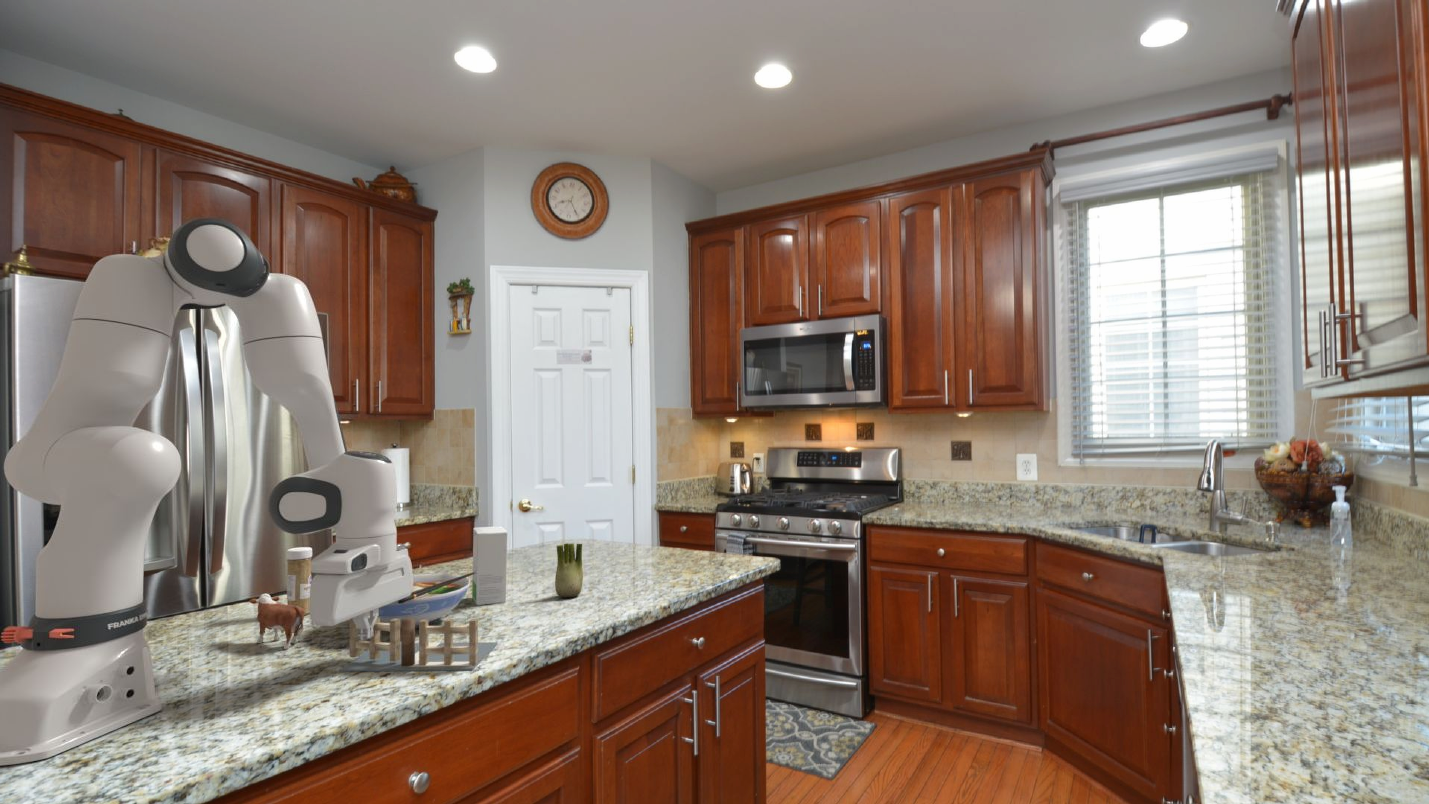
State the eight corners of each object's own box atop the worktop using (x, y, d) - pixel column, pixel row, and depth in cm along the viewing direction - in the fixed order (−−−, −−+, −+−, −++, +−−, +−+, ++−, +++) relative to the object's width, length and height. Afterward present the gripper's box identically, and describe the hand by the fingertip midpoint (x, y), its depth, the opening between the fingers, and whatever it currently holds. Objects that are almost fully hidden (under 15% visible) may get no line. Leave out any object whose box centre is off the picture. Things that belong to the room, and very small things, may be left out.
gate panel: (400, 659, 115) (400, 618, 115) (395, 661, 114) (395, 620, 114) (355, 654, 117) (355, 615, 117) (349, 657, 116) (349, 617, 116)
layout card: (472, 670, 112) (472, 667, 112) (339, 671, 112) (339, 669, 112) (497, 643, 125) (497, 641, 125) (377, 645, 125) (377, 643, 125)
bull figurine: (269, 634, 132) (269, 590, 132) (310, 645, 125) (310, 599, 125) (243, 640, 128) (244, 595, 128) (284, 652, 121) (284, 604, 121)
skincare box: (471, 597, 158) (471, 527, 158) (502, 594, 161) (502, 525, 161) (476, 606, 150) (476, 532, 151) (508, 602, 153) (508, 530, 154)
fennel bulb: (583, 594, 160) (583, 540, 161) (580, 599, 155) (580, 544, 156) (557, 594, 160) (557, 541, 160) (554, 600, 155) (553, 545, 155)
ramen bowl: (402, 604, 152) (402, 566, 153) (497, 610, 147) (497, 571, 147) (309, 639, 128) (309, 594, 128) (417, 648, 123) (417, 601, 123)
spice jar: (312, 614, 145) (313, 548, 145) (286, 618, 142) (287, 551, 143) (310, 609, 149) (311, 545, 149) (285, 613, 146) (285, 547, 146)
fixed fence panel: (478, 662, 114) (477, 618, 114) (475, 665, 113) (475, 620, 113) (422, 663, 114) (422, 619, 114) (419, 665, 113) (419, 621, 113)
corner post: (411, 668, 113) (411, 621, 113) (399, 668, 113) (399, 621, 113) (416, 664, 115) (417, 617, 115) (404, 664, 115) (404, 617, 115)
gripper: (390, 540, 125) (390, 619, 125) (301, 563, 105) (300, 657, 104) (423, 541, 124) (422, 621, 123) (338, 565, 104) (337, 660, 103)
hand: (365, 638), depth 114 cm, fingers closed
